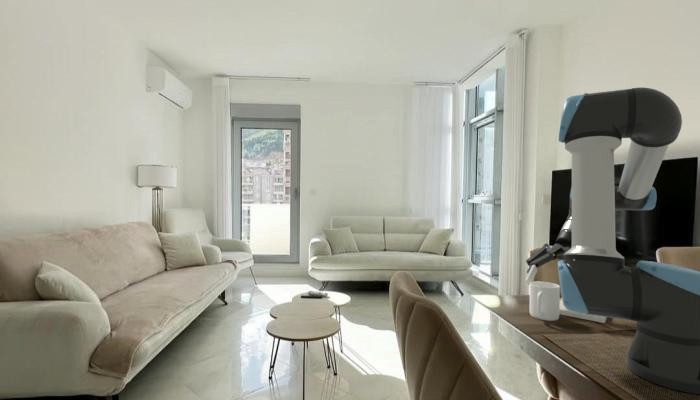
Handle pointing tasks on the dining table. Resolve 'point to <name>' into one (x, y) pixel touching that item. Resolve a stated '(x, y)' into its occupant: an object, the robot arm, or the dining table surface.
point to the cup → (544, 300)
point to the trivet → (580, 314)
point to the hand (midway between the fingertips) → (548, 286)
